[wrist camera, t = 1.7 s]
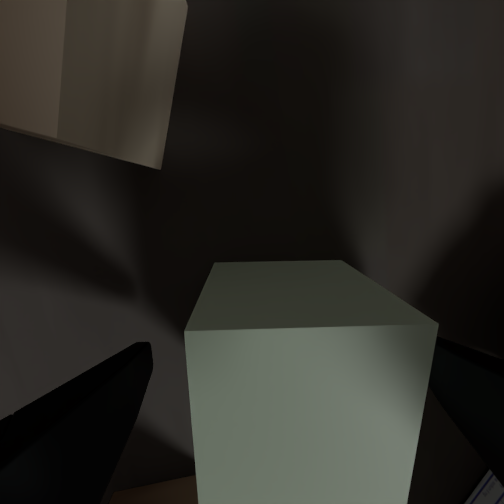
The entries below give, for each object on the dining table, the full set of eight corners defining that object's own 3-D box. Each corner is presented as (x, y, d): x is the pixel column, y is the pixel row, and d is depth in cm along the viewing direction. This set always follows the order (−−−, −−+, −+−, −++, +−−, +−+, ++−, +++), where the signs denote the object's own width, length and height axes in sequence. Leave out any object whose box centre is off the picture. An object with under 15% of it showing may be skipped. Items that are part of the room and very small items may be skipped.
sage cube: (219, 371, 11) (199, 520, 6) (214, 261, 10) (184, 331, 5) (332, 368, 11) (405, 509, 6) (340, 259, 10) (438, 323, 5)
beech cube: (14, 131, 8) (-316, 39, 3) (21, -46, 7) (-447, -552, 2) (161, 170, 9) (56, 138, 4) (188, 8, 8) (90, -320, 3)
